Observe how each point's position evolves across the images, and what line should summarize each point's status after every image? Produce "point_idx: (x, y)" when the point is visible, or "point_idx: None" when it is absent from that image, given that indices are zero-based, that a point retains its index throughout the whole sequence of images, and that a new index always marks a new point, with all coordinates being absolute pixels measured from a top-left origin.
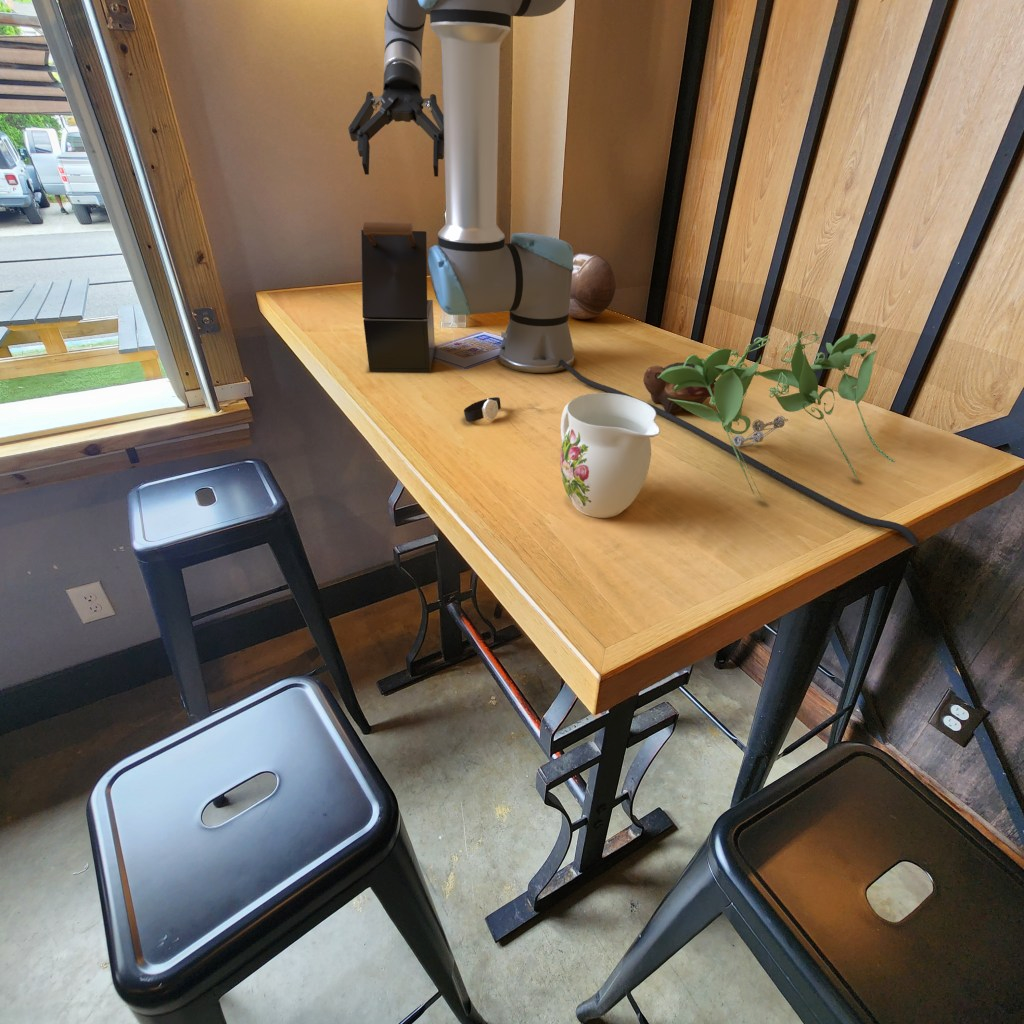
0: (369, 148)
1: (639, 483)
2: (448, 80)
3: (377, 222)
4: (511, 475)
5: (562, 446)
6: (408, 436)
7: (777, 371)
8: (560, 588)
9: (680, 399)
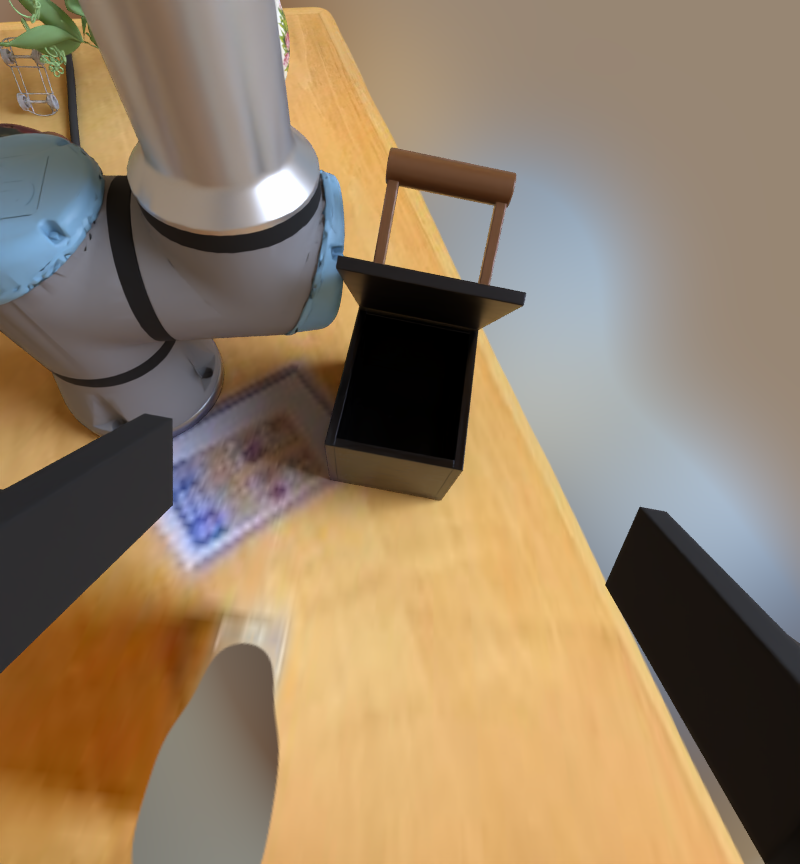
0: (737, 803)
1: None
2: None
3: (479, 166)
4: (317, 131)
5: (285, 31)
6: (406, 205)
7: None
8: (326, 42)
9: None
